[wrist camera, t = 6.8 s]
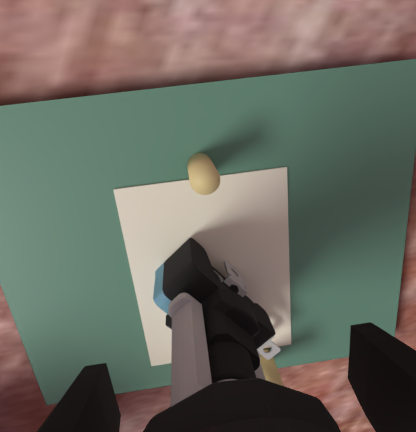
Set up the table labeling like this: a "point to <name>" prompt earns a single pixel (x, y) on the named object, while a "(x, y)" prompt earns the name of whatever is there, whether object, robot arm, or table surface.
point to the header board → (206, 213)
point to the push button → (223, 355)
